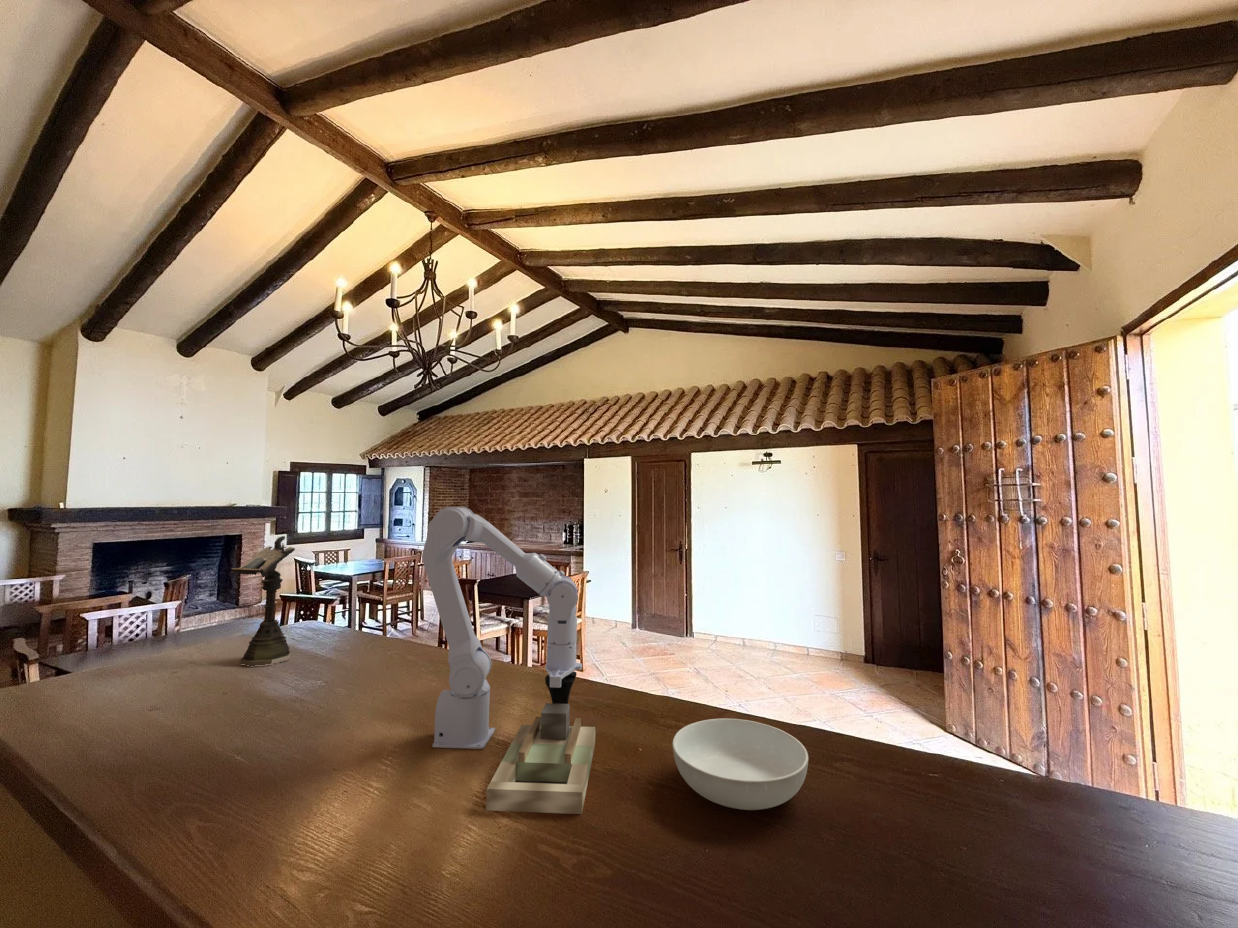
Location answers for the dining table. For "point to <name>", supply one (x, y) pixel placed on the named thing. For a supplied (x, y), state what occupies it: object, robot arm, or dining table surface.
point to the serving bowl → (740, 762)
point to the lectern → (267, 607)
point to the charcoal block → (555, 721)
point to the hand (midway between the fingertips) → (560, 713)
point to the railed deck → (543, 772)
